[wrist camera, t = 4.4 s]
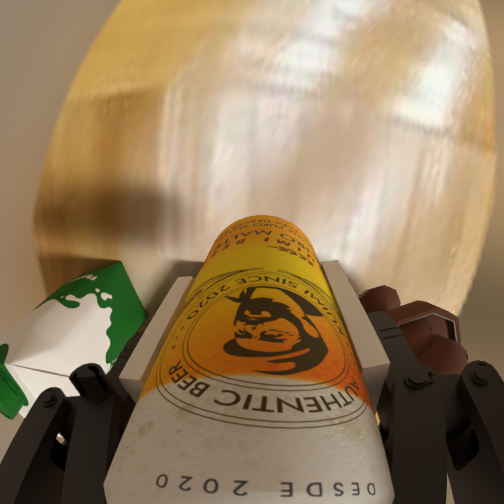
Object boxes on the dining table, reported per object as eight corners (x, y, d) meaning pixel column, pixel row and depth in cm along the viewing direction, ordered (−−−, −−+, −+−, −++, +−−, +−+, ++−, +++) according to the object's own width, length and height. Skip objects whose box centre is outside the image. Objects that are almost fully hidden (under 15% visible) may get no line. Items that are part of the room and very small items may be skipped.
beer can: (319, 214, 15) (476, 509, 1) (307, 307, 17) (345, 557, 3) (210, 209, 15) (20, 487, 1) (213, 302, 18) (142, 546, 4)
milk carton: (124, 250, 27) (-9, 377, 8) (158, 321, 30) (82, 470, 11) (72, 269, 28) (-40, 369, 9) (105, 331, 31) (26, 447, 12)
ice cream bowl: (325, 278, 27) (371, 392, 13) (420, 252, 25) (508, 330, 11) (336, 354, 30) (364, 460, 16) (417, 329, 29) (472, 415, 15)
